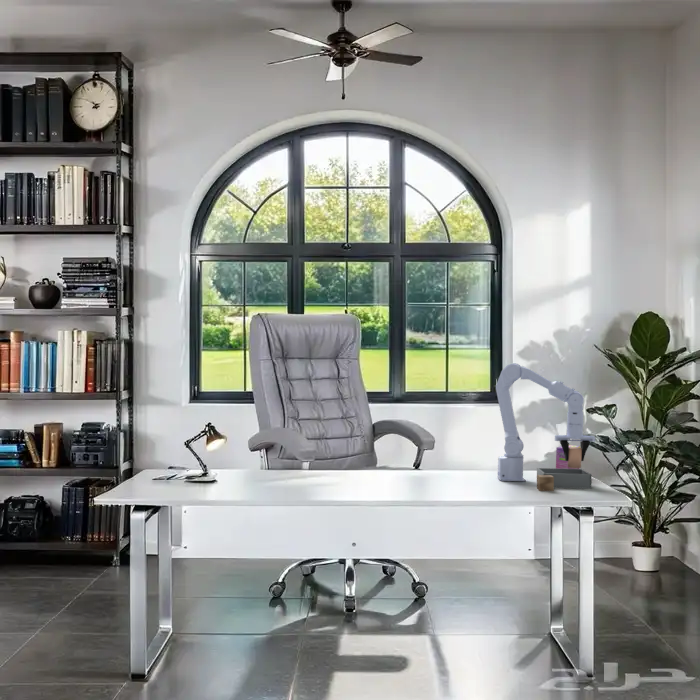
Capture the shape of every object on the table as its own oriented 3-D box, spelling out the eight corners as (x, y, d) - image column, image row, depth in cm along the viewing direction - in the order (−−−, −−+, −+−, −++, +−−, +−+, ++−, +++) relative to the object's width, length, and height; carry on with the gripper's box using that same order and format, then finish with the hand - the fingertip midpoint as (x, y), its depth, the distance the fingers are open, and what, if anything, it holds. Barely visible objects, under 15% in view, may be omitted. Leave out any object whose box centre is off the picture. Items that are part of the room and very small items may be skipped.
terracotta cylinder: (568, 467, 334) (569, 449, 334) (566, 465, 339) (566, 446, 339) (582, 468, 334) (583, 449, 334) (579, 465, 339) (580, 447, 339)
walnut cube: (539, 491, 320) (539, 476, 320) (536, 488, 325) (537, 474, 325) (553, 491, 320) (553, 477, 320) (550, 488, 325) (551, 475, 325)
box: (569, 478, 348) (569, 448, 348) (555, 477, 352) (555, 446, 351) (579, 475, 356) (580, 445, 356) (566, 474, 360) (566, 444, 360)
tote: (543, 487, 328) (543, 473, 328) (536, 481, 341) (536, 468, 341) (591, 488, 327) (591, 474, 327) (582, 482, 341) (582, 468, 340)
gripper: (557, 424, 333) (557, 461, 333) (597, 425, 332) (596, 462, 333) (553, 423, 340) (553, 459, 340) (592, 423, 340) (591, 459, 340)
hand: (574, 460), depth 337 cm, fingers closed on terracotta cylinder, 5 cm apart
